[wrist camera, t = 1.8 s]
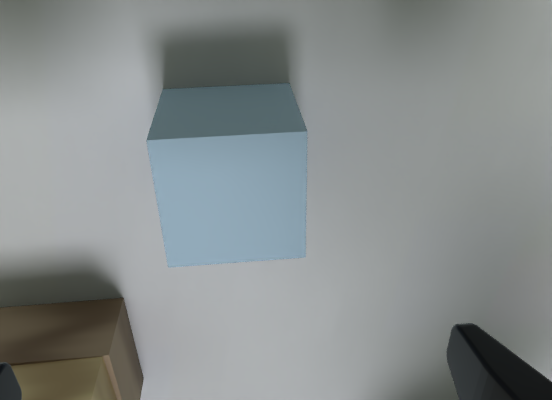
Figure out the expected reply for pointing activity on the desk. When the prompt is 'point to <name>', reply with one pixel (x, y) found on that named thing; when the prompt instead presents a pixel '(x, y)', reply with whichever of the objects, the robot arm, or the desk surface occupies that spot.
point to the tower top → (65, 380)
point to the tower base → (74, 338)
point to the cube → (230, 174)
